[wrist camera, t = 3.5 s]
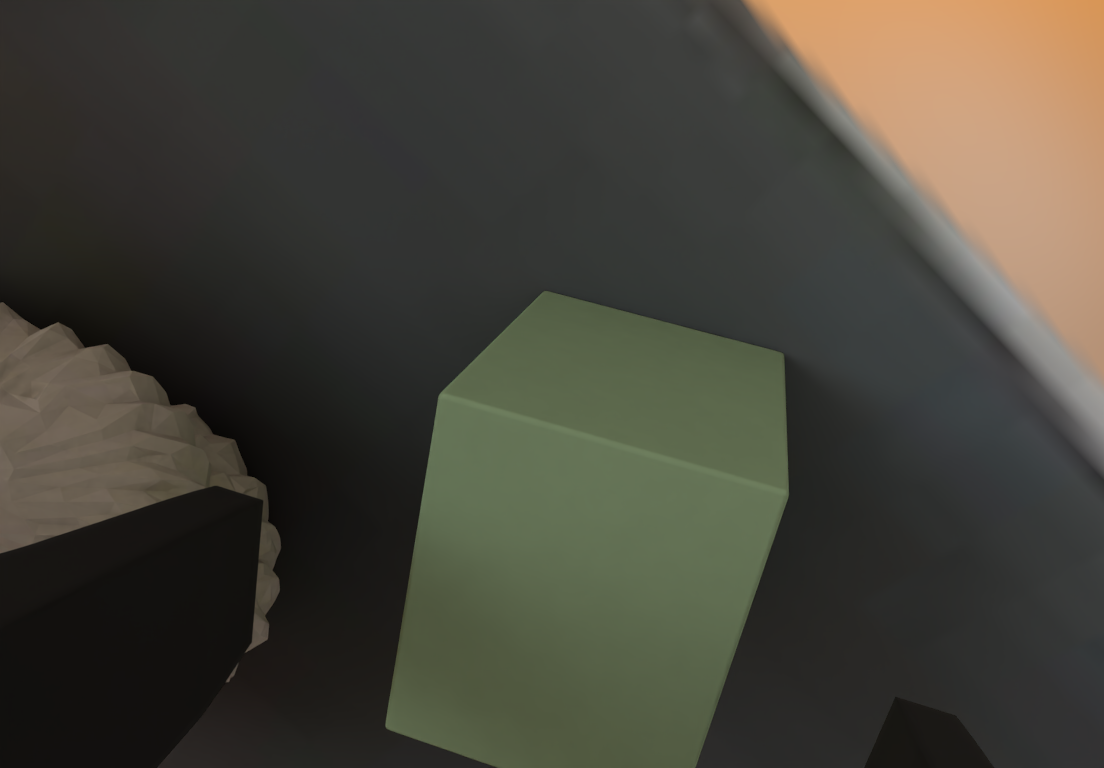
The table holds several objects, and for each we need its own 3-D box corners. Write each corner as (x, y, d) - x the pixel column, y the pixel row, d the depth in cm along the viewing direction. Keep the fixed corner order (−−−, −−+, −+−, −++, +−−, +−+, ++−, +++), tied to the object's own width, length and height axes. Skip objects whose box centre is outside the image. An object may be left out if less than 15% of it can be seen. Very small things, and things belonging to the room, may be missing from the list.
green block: (543, 288, 15) (437, 392, 10) (785, 352, 14) (791, 492, 9) (492, 543, 16) (382, 730, 12) (703, 609, 16) (674, 831, 11)
